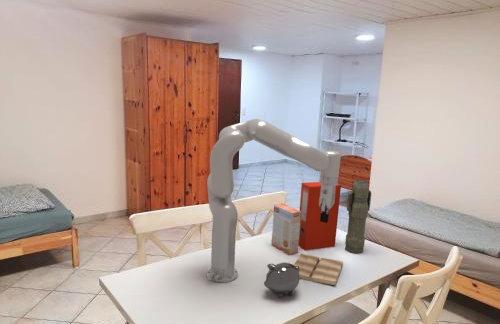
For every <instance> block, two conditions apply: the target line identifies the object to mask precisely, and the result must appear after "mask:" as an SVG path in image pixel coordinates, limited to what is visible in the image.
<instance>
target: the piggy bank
mask: <svg viewBox="0 0 500 324" xmlns="http://www.w3.org/2000/svg"><path fill="white" fill-rule="evenodd" d="M267 269H268V271H267V273H266V277H265V280H264V282H263V285H264V287H265V288H267V289H269V291H271V292H273V293H275V294H277V296H278V297H277V298H279V299H283V298H284V296H285V294H288V295H289V296H290V297H293V296H294V294H295V290H296V289H297V288H298V286H299V284H300V281H301V279H300V274H299V271H300V268H299V266H294V264H292V263H289V262H279V263H276V264H274V263H269V264H267Z"/></svg>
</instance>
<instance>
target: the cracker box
mask: <svg viewBox="0 0 500 324" xmlns="http://www.w3.org/2000/svg"><path fill="white" fill-rule="evenodd" d="M272 215H273V218H272V232H271V245H272V246H274V247H275V248H277V249H279V250H280V251H282V252H283V253H285V254H287V255H289V256H290V255H294V254H297V253H299V246H298V245H299V232H300V219H301V211H300V209H296V208H294V207H292V206H289V205H287V204H284V203H278V204H274V205H273V214H272Z"/></svg>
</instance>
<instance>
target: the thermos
mask: <svg viewBox="0 0 500 324" xmlns="http://www.w3.org/2000/svg"><path fill="white" fill-rule="evenodd" d="M371 199H372V191H371V190H370V187H369V182H368V181H366V180H364V179H357V180H354V181H353V184H352V187H351V190H349V192H348V193H347V205H346V210H347V212H348V213H347V214H348V223H347V233H346V236H345V242H344V243H345V245H344V246H345V247H344V249H345V251H346V252H348V253H350V254H354V255H355V254H356V255H357V254H358V255H360V254H363V253H364V248H365V242H366V237H365V230H366V222H367V218H368V212H369V211H370V208H371V201H372V200H371Z"/></svg>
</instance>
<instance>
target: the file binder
mask: <svg viewBox="0 0 500 324" xmlns="http://www.w3.org/2000/svg"><path fill="white" fill-rule="evenodd" d="M321 185H322V184H320V183H319V181H312V182H302V183H301V188H300V189H301V190H300V201H299V202H300V203H299V211H301V219H300V232H299V245H298V248H300V249H301V250H302V251H304V252H306V251H313V250H318V249H319V250H320V249H327V248H334V247H336V241H337V240H336V239H337V231H338V230H337V229H338V221H339V220H338V219H339V210H340V208H339V207H340V199H341V189H342V187H341V186H342V185H341V184H340V183H338V184H337V185H336V186H335V201H334V205H333V206H332V207H331V208H330V209H329V218H328V222H327V223H325V222H320V216H321V207H322V206H321V207H320V206H319V199H320V191H321Z"/></svg>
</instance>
